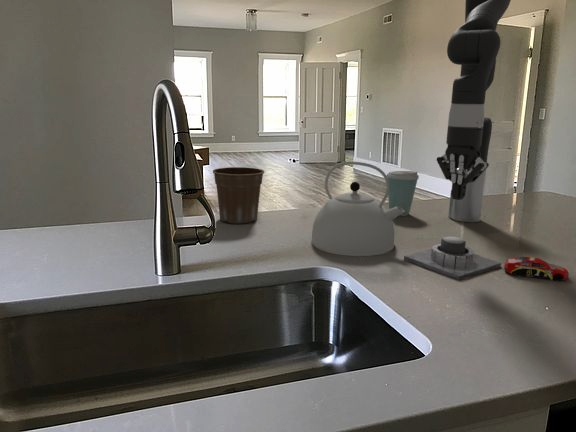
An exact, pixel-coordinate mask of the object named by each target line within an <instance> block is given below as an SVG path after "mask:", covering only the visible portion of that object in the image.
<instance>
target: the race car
mask: <svg viewBox="0 0 576 432" xmlns="http://www.w3.org/2000/svg"><path fill="white" fill-rule="evenodd" d="M503 265H504V266H503V268H504V272H506V273H508V274H510V275H515V276H516V277H528V278H529V277H530V278H537V279H546V280H553V281H555V282H562V281H566V280H567V279H568V278H569V275H570V274H569V271H568V269H567V268H565V267H563V266H560V265H558V264H553V263H549V262H548V261H545V260H543V259H542V258H539V257H534V256H517V257H510V258H507V259H505V262H504V264H503Z"/></svg>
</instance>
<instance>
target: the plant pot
mask: <svg viewBox="0 0 576 432" xmlns="http://www.w3.org/2000/svg"><path fill="white" fill-rule="evenodd" d="M212 173H213V175H214V176H213V177H214V183H215V185H216V194H217V202H218V213H219V220H220V221H221V222H224V223H226V222H227V223H228V224H233V225H234V224H237V225H242V224H243V225H244V224H250V223H252V222H256V221H257V220H258V216H259V215H258V213H259V204H260V194H261V185H262V183H263V175H264V174H265V170H264V169H262V168H255V167H243V166H237V167H235V166H231V167H230V166H229V167H219V168H215V169H213V170H212Z"/></svg>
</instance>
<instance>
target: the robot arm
mask: <svg viewBox="0 0 576 432" xmlns="http://www.w3.org/2000/svg"><path fill="white" fill-rule="evenodd" d="M511 1H512V0H465V4H464V5H465V6H464V7H465V9H464V10H465V11H464V13H465V14H464V23H463V24H462V25H461V26H459V27H458V28H457V29H456V30H455V31H454V32H453V33H452V34H451V36H450V38H449V39H448V40H449V41H448V44H447V47H446V53H447V57H448V60H449V61H450V62H451V63H452V64H455V65H460V74H459V75H460V76H458V77H456V78H454V80H453V83H452V92H451V101H450V102H451V104H450V108H449V112H448V121H447V129H446V130H447V131H446V142H445V143H446V145H447V146H446V149H445V151H444V152H445V153H444V154H443V155H441V156H438V157H436V162H437V164H438V166H439V168H440V170H441V173H442V174H443V177H444V178H445V180H448V181H450V182H451V190H450V198H449V207H448V218H450V219H452V220H454V221H458V222H462V223H477V222H480V221H481V219H482V218H481V217H482V210H483V201H484V191H485V185H486V174H487V169H488V168H489V165H490V163H488V157H489V156H488V154H489V147H490V142H491V137H492V130H493V123H492V119H491V118H490V117H485V103H486V96H487V95H486V93H487V90H488V89H489V88H490V86H491V85H492V83H493V82H494V78H495V72H496V64H497V57H498V54H499V52H500V49H501V38H500V34H499V33H498V32H497V31H496V30H497V27H498V24H499V21H500V20H501V18H502V17H503V16H504V14H505V13H506V11H507V10H508V8H509V6H510V3H511Z"/></svg>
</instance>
